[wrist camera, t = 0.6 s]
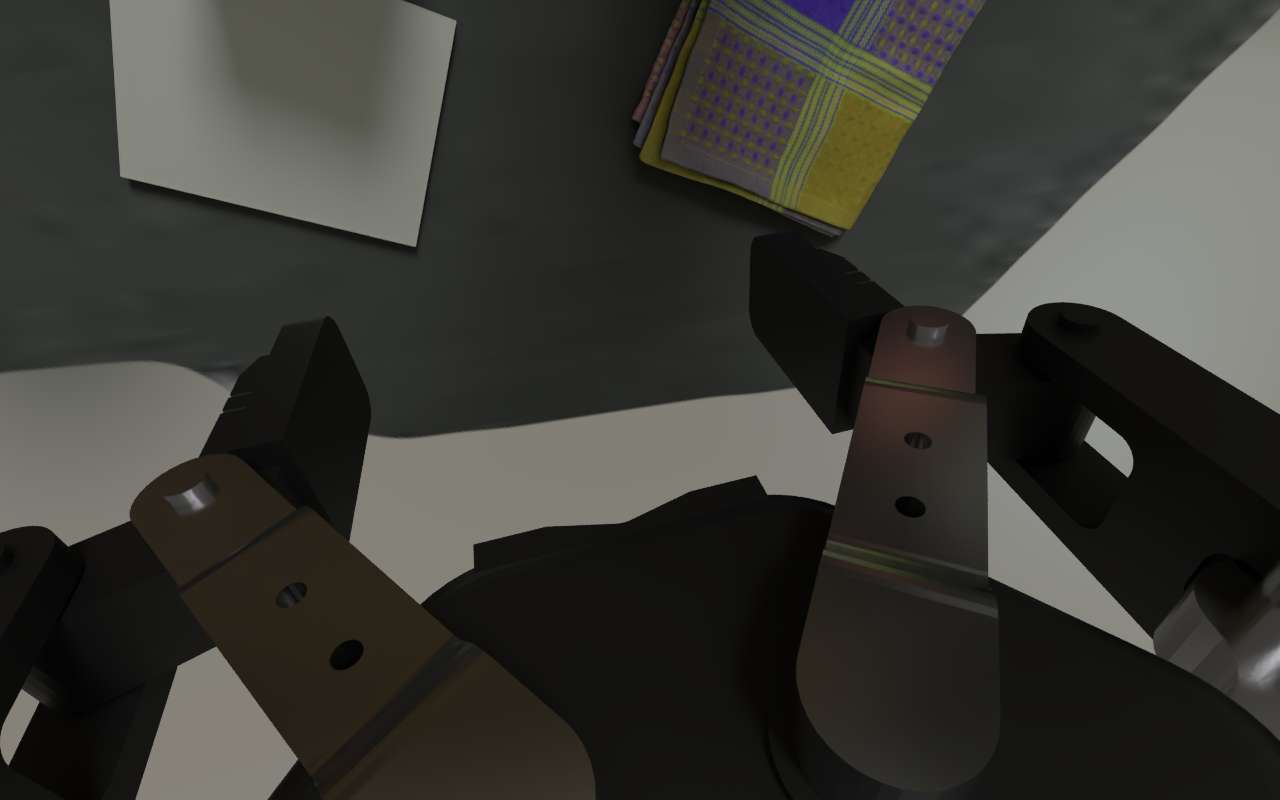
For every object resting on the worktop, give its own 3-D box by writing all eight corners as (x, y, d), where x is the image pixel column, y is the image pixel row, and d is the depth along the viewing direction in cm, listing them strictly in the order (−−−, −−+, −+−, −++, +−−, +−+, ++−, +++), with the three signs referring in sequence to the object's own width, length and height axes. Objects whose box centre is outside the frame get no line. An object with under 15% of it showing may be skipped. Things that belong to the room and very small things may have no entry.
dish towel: (1073, -147, 34) (1116, -155, 32) (826, 245, 44) (846, 260, 42) (849, -403, 26) (886, -437, 24) (615, 144, 37) (625, 155, 35)
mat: (110, -114, 25) (102, -116, 25) (456, 20, 31) (456, 21, 30) (127, 172, 31) (120, 176, 30) (416, 242, 36) (415, 247, 36)
